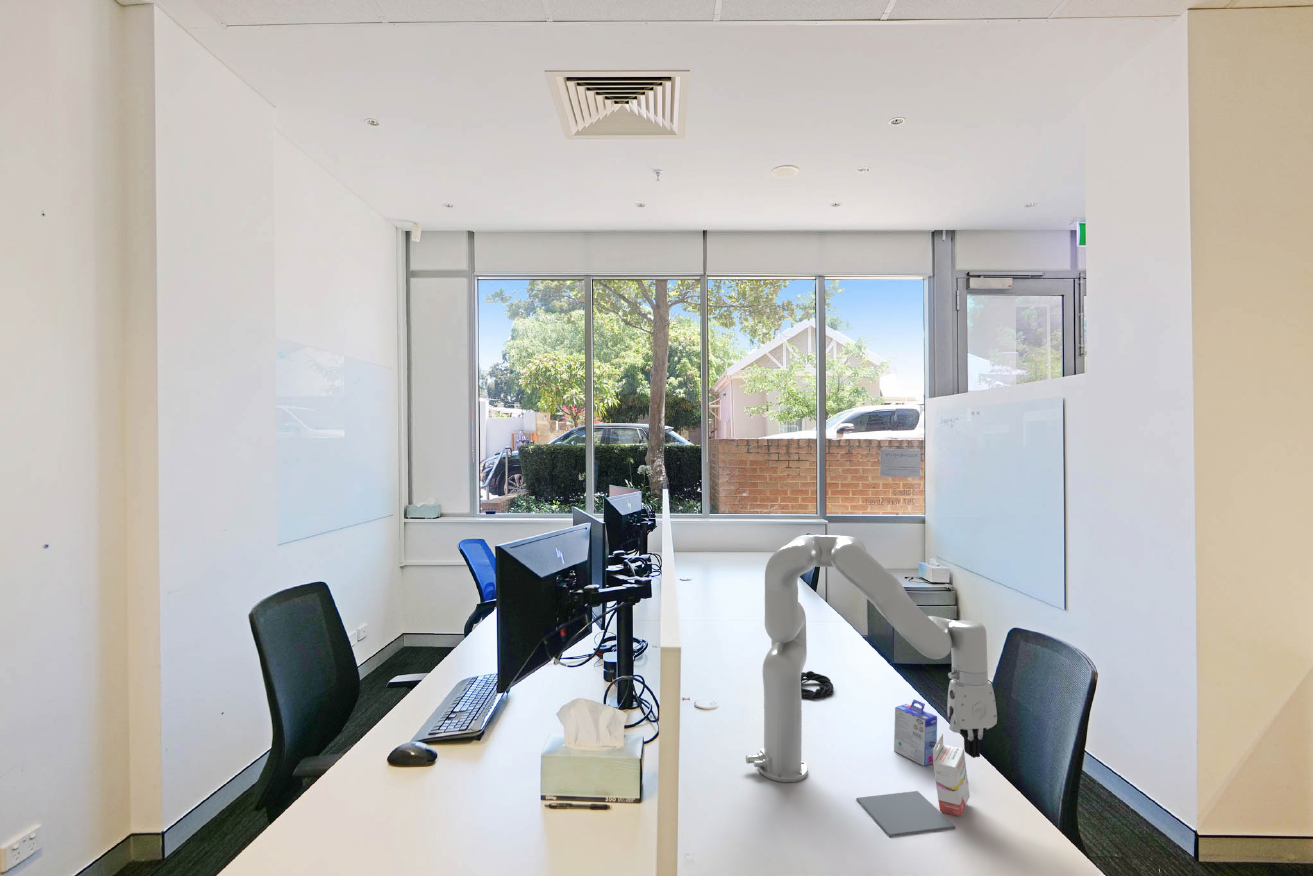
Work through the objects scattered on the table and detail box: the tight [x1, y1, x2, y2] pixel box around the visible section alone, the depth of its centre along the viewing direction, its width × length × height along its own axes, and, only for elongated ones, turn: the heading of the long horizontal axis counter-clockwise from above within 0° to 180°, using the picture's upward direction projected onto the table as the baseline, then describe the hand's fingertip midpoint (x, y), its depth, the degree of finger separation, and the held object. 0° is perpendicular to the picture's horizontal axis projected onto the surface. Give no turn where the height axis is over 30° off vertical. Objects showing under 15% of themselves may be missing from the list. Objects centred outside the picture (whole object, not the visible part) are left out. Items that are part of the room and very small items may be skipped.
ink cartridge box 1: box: [893, 698, 938, 767], centre depth 170 cm, size 10×6×14 cm, turn 31°
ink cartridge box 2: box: [932, 733, 971, 818], centre depth 146 cm, size 9×5×15 cm, turn 142°
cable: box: [801, 670, 834, 700], centre depth 215 cm, size 17×14×4 cm
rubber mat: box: [855, 790, 956, 837], centre depth 144 cm, size 16×14×1 cm
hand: (972, 754), depth 147 cm, fingers closed
